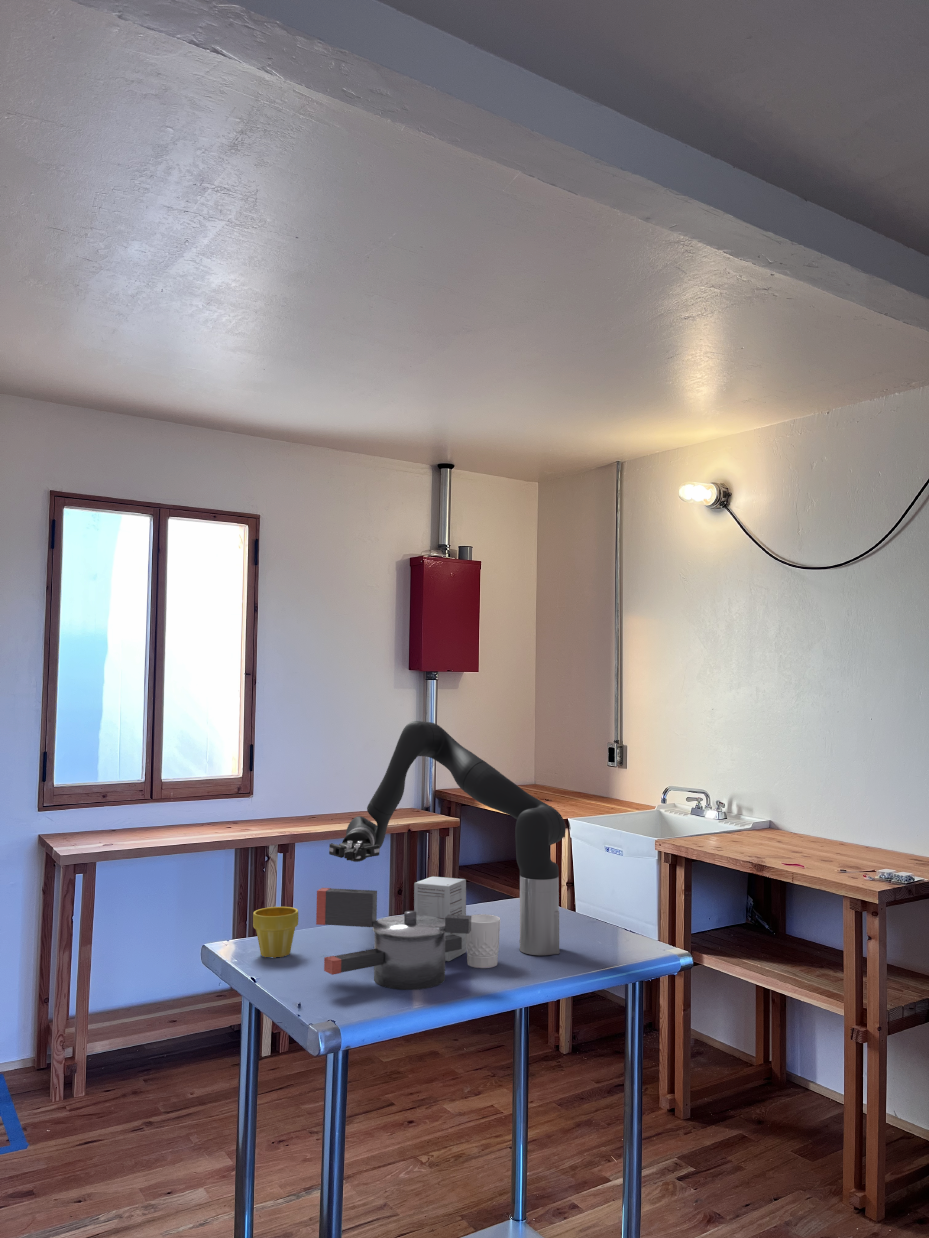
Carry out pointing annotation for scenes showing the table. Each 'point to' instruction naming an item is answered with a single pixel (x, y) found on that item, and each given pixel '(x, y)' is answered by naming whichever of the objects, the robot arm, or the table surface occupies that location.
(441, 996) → the table surface
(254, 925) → the plant pot
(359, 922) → the lid
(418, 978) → the pot
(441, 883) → the supplement box
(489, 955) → the white cup
